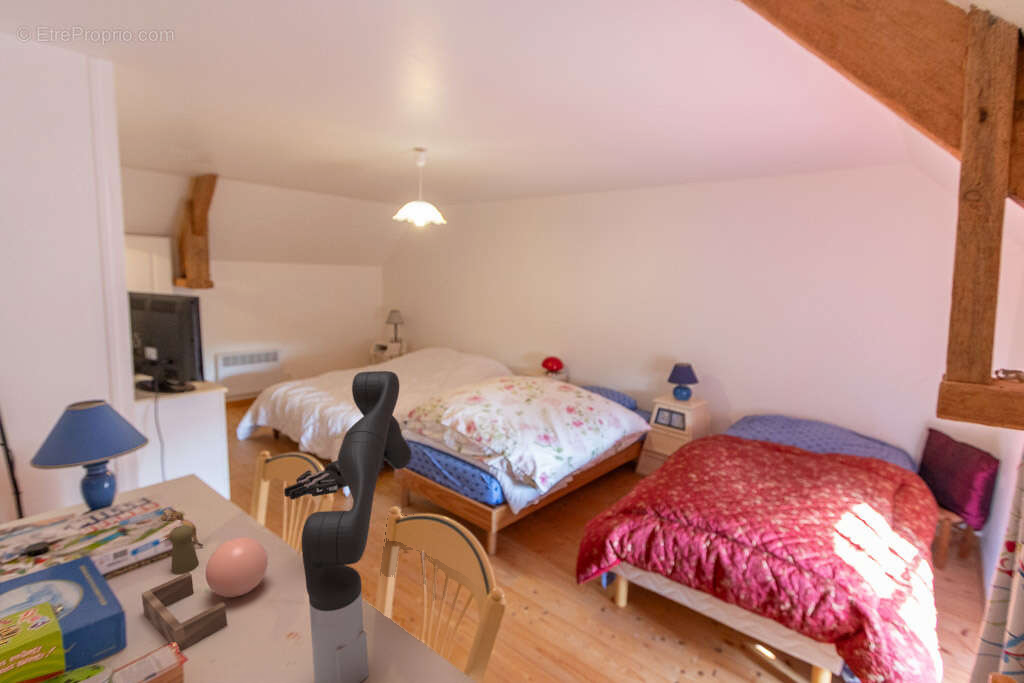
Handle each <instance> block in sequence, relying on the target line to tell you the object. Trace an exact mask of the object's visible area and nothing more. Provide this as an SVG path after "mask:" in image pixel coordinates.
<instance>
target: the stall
mask: <svg viewBox="0 0 1024 683" xmlns="http://www.w3.org/2000/svg"><path fill="white" fill-rule="evenodd" d="M194 593H195V592H194V584H193V576H192V573H191V572H187V573H184V574H181V575H180V576H177V577H175V578H173V579H171V580H168V581H167V582H164V583H161V584H159V585H157V586H155V587H153V588H150V589H149V590H146V591H144V592H142V593H141V598H142V599H141V601H142V607H143V608H142V609H143V614H144V615H145V616H146V618H147V619H148V620H149V621H150V623H151V624H153V626H154V627H155V628H156V629H157V631H158V632H159V633H160V634H161V635H162V636H163V638H164V639H165V640H166V641H167V642H168V643H169V644H170V643H171V642H176V643H177V645H178V647H179V650H180V651H181V652H182V651H184V650H186V649H188V648H189V646H190V647H191V646H194V644H196V643H198V642H200V641H202V640H204V639H206V638H207V636H208V637H209V636H211V635H213V634H215V633H216V632H218V631H219V630H222V629H224V628H225V626H226V627H227V626H228V620H227V609H226V604H225V603H224V602H223V601H222V602H219V603H217V604H216V605H214V606H212V607H210V608H208V609H206V610H204V611H203V612H200V613H198V614H196V615H195V616H192V617H191V618H189V619H186V620H184V621H183V622H180V621H179V620H178V619H177V618H176V617H175V616H174V615H173V613H171V611H170V610H169V609H167V607H169V606H171V605H173V604H174V603H177V602H179V601H181V600H183V599H185V598H187V597H189V596H191V595H194Z"/></svg>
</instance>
